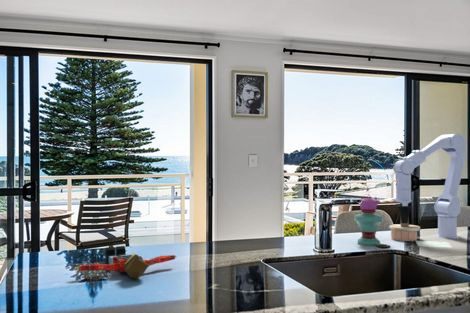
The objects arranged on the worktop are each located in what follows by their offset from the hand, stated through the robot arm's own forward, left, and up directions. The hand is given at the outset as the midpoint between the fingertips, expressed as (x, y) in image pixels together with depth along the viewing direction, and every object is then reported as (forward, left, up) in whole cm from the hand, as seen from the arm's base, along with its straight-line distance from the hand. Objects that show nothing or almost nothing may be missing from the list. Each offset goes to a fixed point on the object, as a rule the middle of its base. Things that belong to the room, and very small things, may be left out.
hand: (403, 221), depth 188 cm
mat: (+10, +10, -7) cm, 16 cm away
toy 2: (+13, -14, -8) cm, 21 cm away
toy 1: (+77, -85, -8) cm, 115 cm away
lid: (0, 0, -3) cm, 3 cm away
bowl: (0, 0, -7) cm, 7 cm away
